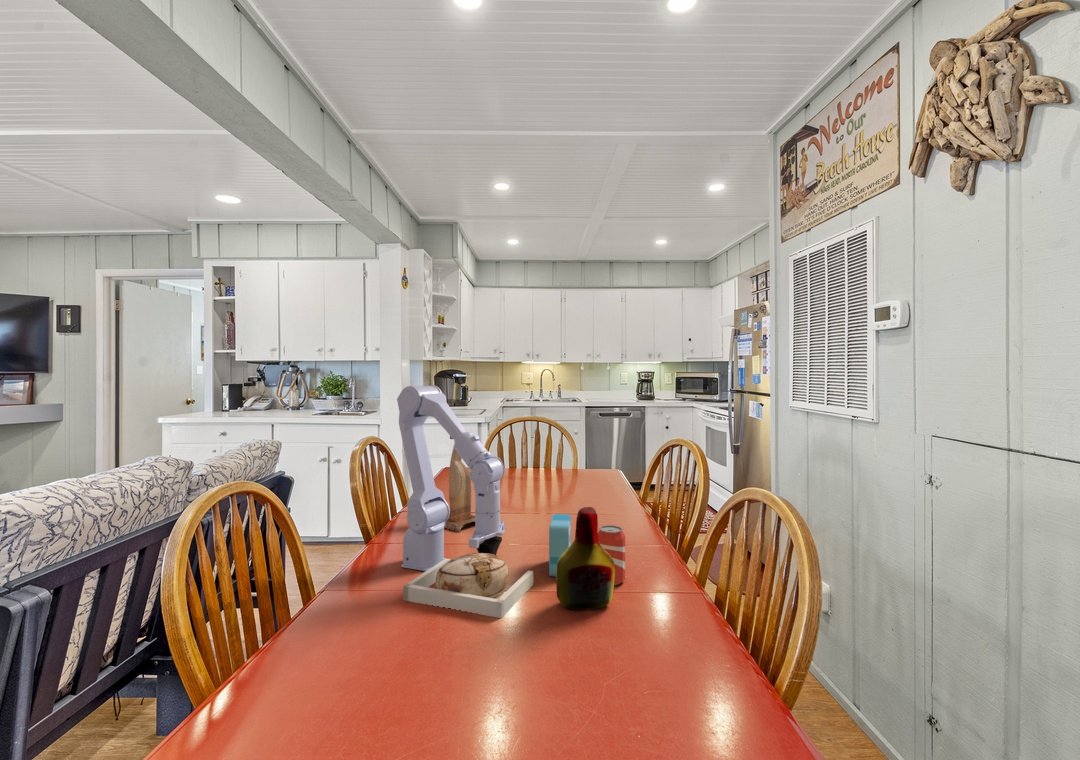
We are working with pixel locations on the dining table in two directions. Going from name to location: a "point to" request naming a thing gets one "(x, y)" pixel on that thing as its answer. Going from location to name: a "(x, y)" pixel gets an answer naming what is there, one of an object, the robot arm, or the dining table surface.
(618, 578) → the beverage can
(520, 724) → the dining table surface
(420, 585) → the display bay
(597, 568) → the bottle
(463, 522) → the bird sculpture
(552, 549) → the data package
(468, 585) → the trinket box
